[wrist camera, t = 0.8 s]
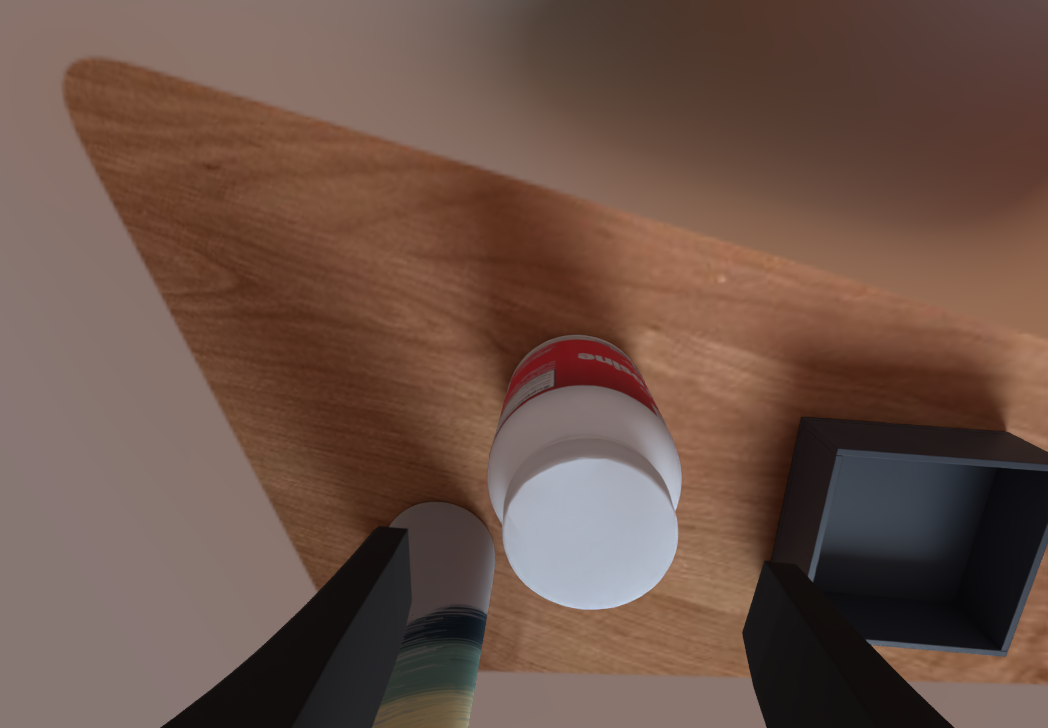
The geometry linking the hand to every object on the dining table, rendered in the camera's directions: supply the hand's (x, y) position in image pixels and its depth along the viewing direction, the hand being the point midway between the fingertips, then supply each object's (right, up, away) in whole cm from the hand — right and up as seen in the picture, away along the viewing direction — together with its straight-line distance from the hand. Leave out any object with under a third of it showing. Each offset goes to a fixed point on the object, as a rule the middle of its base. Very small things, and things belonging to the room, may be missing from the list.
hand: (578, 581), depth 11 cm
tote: (+15, -2, +15) cm, 21 cm away
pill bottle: (+1, +3, +14) cm, 14 cm away
